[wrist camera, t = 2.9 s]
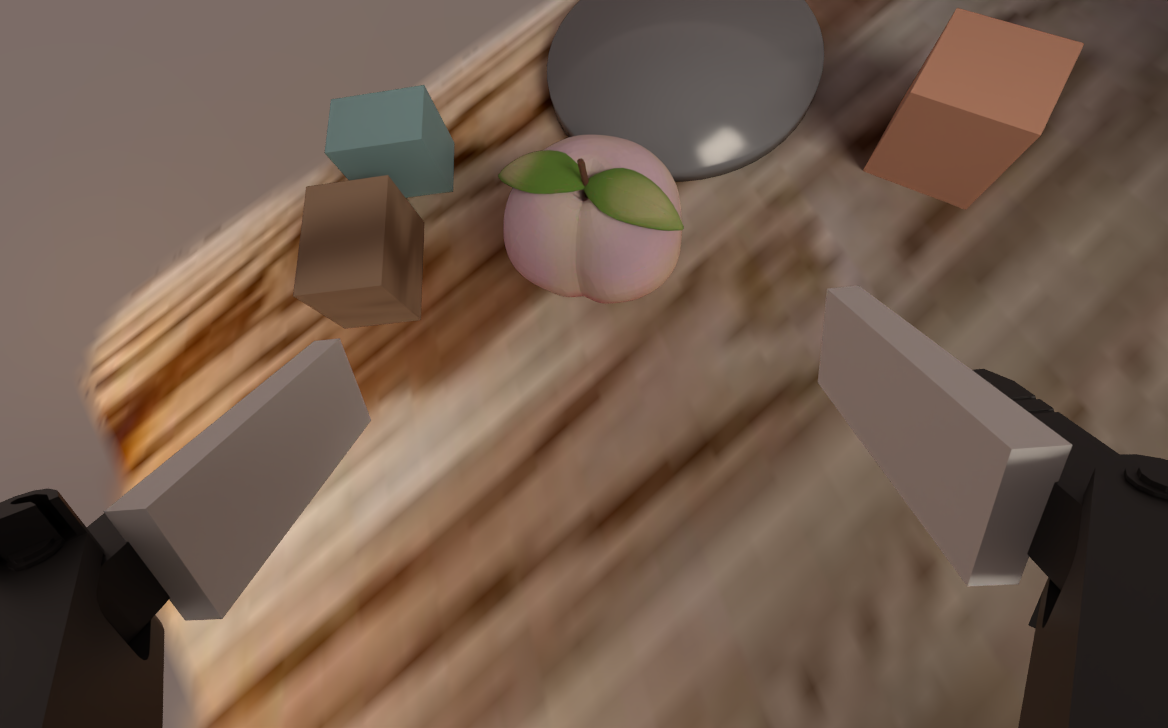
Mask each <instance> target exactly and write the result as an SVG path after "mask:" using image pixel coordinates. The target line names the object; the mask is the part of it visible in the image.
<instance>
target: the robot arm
mask: <svg viewBox="0 0 1168 728" xmlns="http://www.w3.org/2000/svg"><path fill="white" fill-rule="evenodd" d="M818 384H819V385H820V386H821V388H822V389H823V390H824V392H825V393H826V394H827V396H828V397H829V399H830V400H831V401H832V403H833V404H834V405H835V407H836V408H837V409H838V411H839V412H840V413H841V415H842V416H843V418H844V419H845V420H846V422H847V423H848V424H849V426H850V427H851V428H852V430H853V431H854V433H855V434H856V435H857V437H858V438H859V439H860V441H861V442H862V443H863V445H864V446H865V448H866V449H867V450H868V452H869V453H870V454H871V456H872V457H873V458H874V460H875V461H876V463H877V464H878V465H879V467H880V468H881V469H882V471H883V472H884V473H885V475H886V476H887V477H888V479H889V480H890V482H891V483H892V484H893V486H894V487H895V488H896V490H897V491H898V492H899V494H900V495H901V497H902V498H903V499H904V501H905V502H906V503H907V505H908V506H909V507H910V509H911V510H912V512H913V513H914V514H915V516H916V517H917V518H918V520H919V521H920V522H921V524H922V525H923V527H924V528H925V529H926V531H927V532H928V533H929V535H930V536H931V537H932V539H933V540H934V541H935V543H936V544H937V546H938V547H939V548H940V550H941V551H942V552H943V554H944V555H945V556H946V558H947V559H948V561H949V562H950V563H951V565H952V566H953V567H954V569H955V570H956V571H957V573H958V574H959V576H960V577H961V578H962V580H963V581H964V582H965V584H966V585H967V586H985V585H1008V584H1019V581H1020V579H1021V576H1022V574H1023V571H1024V568H1025V566H1026V563H1027V561H1028V558H1029V556H1030V558H1031V559H1032V560H1033V561H1034V562H1035V563H1036V564H1037V565H1038V566H1039V567H1040V568H1041V570H1042V571H1043V572H1044V573H1045V574H1046V575H1047V576H1048V580H1047V582H1046V584H1045V587H1044V589H1043V591H1042V594H1041V596H1040V599H1039V601H1038V603H1037V606H1036V608H1035V610H1034V613H1033V615H1032V617H1031V620H1030V622H1029V624H1028V625H1029V626H1031V627H1034V628H1036V630H1035V635H1034V641H1033V647H1032V652H1031V658H1030V664H1029V670H1028V675H1027V681H1026V687H1025V692H1024V698H1023V704H1022V710H1021V715H1020V721H1019V727H1018V728H1168V460H1165V459H1161V458H1155V457H1149V456H1143V455H1137V454H1132V455H1120V454H1118V453H1117V452H1115V451H1114V450H1112V449H1111V448H1109V447H1108V446H1107V445H1105V444H1104V443H1102V442H1101V441H1099V440H1098V439H1097V438H1095V437H1094V436H1092V435H1091V434H1089V433H1088V432H1086V431H1085V430H1084V429H1082V428H1081V427H1079V426H1078V425H1076V424H1075V423H1074V422H1072V421H1071V420H1069V419H1068V418H1066V417H1065V416H1063V415H1062V414H1061V413H1059V412H1054V409H1053V408H1052V407H1051V406H1049V405H1048V404H1046V403H1045V402H1043V401H1042V400H1040V399H1036V398H1035V395H1033V394H1032V393H1030V392H1029V391H1027V390H1026V389H1025V388H1023V387H1022V386H1020V385H1019V384H1017V383H1016V382H1015V381H1013V380H1010V379H1008V378H1005V377H1003V376H1000V375H998V374H995V373H993V372H990V371H988V370H985V369H977V370H971V369H970V368H969V367H967V366H966V365H965V364H963V363H962V362H961V361H959V360H958V359H957V358H955V357H954V356H952V355H951V354H950V353H948V352H947V351H946V350H944V349H943V348H942V347H940V346H939V345H938V344H936V343H935V342H934V341H932V340H931V339H930V338H928V337H927V336H926V335H924V334H923V333H922V332H920V331H919V330H918V329H916V328H915V327H914V326H912V325H911V324H910V323H908V322H907V321H906V320H904V319H903V318H902V317H900V316H899V315H897V314H896V313H895V312H893V311H892V310H891V309H889V308H888V307H887V306H885V305H884V304H883V303H881V302H880V301H879V300H877V299H876V298H875V297H873V296H872V295H871V294H869V293H868V292H867V291H865V290H864V289H863V288H861V287H860V286H849V287H839V288H830V289H827V295H826V305H825V315H824V325H823V336H822V346H821V356H820V366H819V377H818ZM370 421H371V419H370V416H369V413H368V411H367V408H366V406H365V403H364V400H363V398H362V395H361V393H360V390H359V387H358V385H357V382H356V380H355V377H354V374H353V372H352V369H351V367H350V364H349V361H348V359H347V356H346V354H345V351H344V348H343V346H342V343H341V341H340V339H330V340H320V341H314V342H312V343H311V344H310V345H309V346H307V347H306V348H305V349H304V350H303V351H301V352H300V353H299V354H298V355H296V356H295V357H294V358H293V359H291V360H290V361H289V362H288V363H286V364H285V365H284V366H283V367H282V368H280V369H279V370H278V371H277V372H275V373H274V374H273V375H272V376H270V377H269V378H268V379H267V380H265V381H264V382H263V383H262V384H261V385H259V386H258V387H257V388H256V389H254V390H253V391H252V392H251V393H249V394H248V395H247V396H246V397H245V398H243V399H242V400H241V401H240V402H238V403H237V404H236V405H235V406H233V407H232V408H231V409H230V410H228V411H227V412H226V413H225V414H224V415H222V416H221V417H220V418H219V419H217V420H216V421H215V422H214V423H212V424H211V425H210V426H209V427H207V428H206V429H205V430H204V431H203V432H201V433H200V434H199V435H198V436H196V437H195V438H194V439H193V440H191V441H190V442H189V443H188V444H186V445H185V446H184V447H183V448H182V449H180V450H179V451H178V452H177V453H175V454H174V455H173V456H172V457H170V458H169V459H168V460H167V461H165V462H164V463H163V464H162V465H161V466H159V467H158V468H157V469H156V470H154V471H153V472H152V473H151V474H149V475H148V476H147V477H146V478H145V479H143V480H142V481H141V482H140V483H138V484H137V485H136V486H135V487H133V488H132V489H131V490H130V491H128V492H127V493H126V494H125V495H124V496H122V497H121V498H120V499H119V500H117V501H116V502H115V503H114V504H112V505H111V506H110V507H109V508H107V509H106V510H105V511H104V514H103V515H101V516H100V517H99V518H98V519H97V520H95V521H94V522H93V523H92V524H91V525H89V526H88V527H87V528H86V526H85V525H84V524H83V523H82V521H81V520H80V519H79V518H78V516H77V515H76V514H75V513H74V511H73V510H72V509H71V507H70V506H69V505H68V503H67V502H66V501H65V500H64V499H63V497H62V496H61V495H60V493H59V492H58V491H57V490H53V489H43V490H35V491H31V492H28V493H25V494H22V495H18V496H15V497H13V498H10V499H8V500H6V501H3V502H1V503H0V728H162V723H163V721H162V720H163V671H164V628H163V625H162V623H161V622H160V620H159V619H158V618H157V617H156V615H155V614H156V613H157V612H158V611H159V610H160V609H161V608H162V606H163V605H164V604H165V603H166V602H167V601H168V600H169V599H170V601H171V602H172V603H173V605H174V606H175V607H176V609H177V610H178V611H179V613H180V614H181V615H182V617H183V618H184V619H185V620H207V619H223V617H224V616H225V615H226V613H227V612H228V611H229V609H230V608H231V607H232V605H233V604H234V603H235V601H236V600H237V599H238V597H239V596H240V595H241V593H242V592H243V591H244V589H245V588H246V587H247V585H248V584H249V583H250V581H251V580H252V579H253V577H254V576H255V575H256V573H257V572H258V571H259V569H260V568H261V567H262V565H263V564H264V563H265V561H266V560H267V559H268V557H269V556H270V555H271V553H272V552H273V551H274V549H275V548H276V547H277V545H278V544H279V543H280V541H281V540H282V539H283V537H284V536H285V535H286V533H287V532H288V531H289V529H290V528H291V527H292V525H293V524H294V523H295V521H296V520H297V519H298V517H299V516H300V515H301V513H302V512H303V511H304V509H305V508H306V507H307V505H308V504H309V503H310V501H311V500H312V499H313V497H314V496H315V495H316V493H317V492H318V491H319V489H320V488H321V487H322V485H323V484H324V483H325V481H326V480H327V479H328V477H329V476H330V475H331V473H332V472H333V471H334V469H335V468H336V467H337V465H338V464H339V463H340V461H341V460H342V459H343V457H344V456H345V455H346V453H347V452H348V451H349V449H350V448H351V447H352V445H353V444H354V443H355V441H356V440H357V439H358V437H359V436H360V435H361V433H362V432H363V431H364V429H365V428H366V427H367V425H368V424H369V423H370Z"/></svg>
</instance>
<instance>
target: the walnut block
mask: <svg viewBox="0 0 1168 728" xmlns="http://www.w3.org/2000/svg"><path fill="white" fill-rule="evenodd" d="M423 245H424V222H423V220H422V219H421V218H420V216H419V215H418V214H417V212H416V211H415V210H414V208H413V207H412V206H411V204H410V203H409V202H408V201H407V199H406V198H405V197H404V195H403V194H402V193H401V191H400V190H399V189H398V187H397V186H396V185H395V183H394V182H393V181H392V179H391V178H390V177H389V175H384V176H377V177H370V178H363V179H357V180H350V181H343V182H336V183H329V184H322V185H315V186H308V187H306V194H305V202H304V211H303V219H302V227H301V236H300V244H299V252H298V261H297V269H296V277H295V285H294V294H293V296H294V297H296V298H297V299H299V300H300V301H302V302H303V303H305V304H307V305H308V306H310V307H311V308H313V309H315V310H316V311H318V312H319V313H321V314H323V315H324V316H326V317H327V318H329V319H331V320H332V321H334V322H335V323H337V324H338V325H340V326H342V327H343V328H345V329H346V328H355V327H364V326H372V325H381V324H390V323H399V322H408V321H416V320H421V301H422V273H423Z"/></svg>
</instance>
